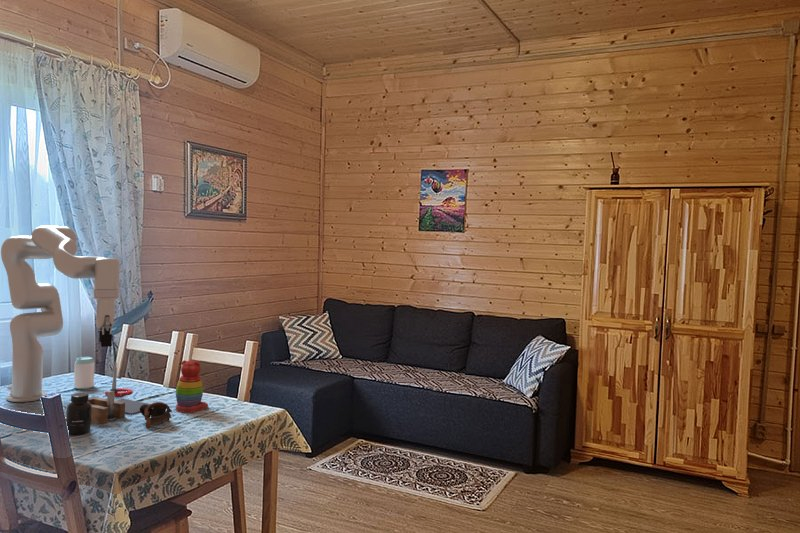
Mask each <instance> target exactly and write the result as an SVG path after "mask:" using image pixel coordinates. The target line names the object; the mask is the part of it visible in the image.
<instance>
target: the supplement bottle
mask: <svg viewBox="0 0 800 533" xmlns="http://www.w3.org/2000/svg"><path fill="white" fill-rule="evenodd" d="M70 396H71V397H70V402H69V404H68V405H67V407H66V418H65V421H67V426H68V430H69V435H68V436H76V437H77V436H84V435H86V434H88V433H90V431H91V428H92V427H91V426H92V422H91V409H92V405H91V403H89V402H88V400H89V398H90V397H89V393H87V392H75V393H72V394H71V395H70Z"/></svg>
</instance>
